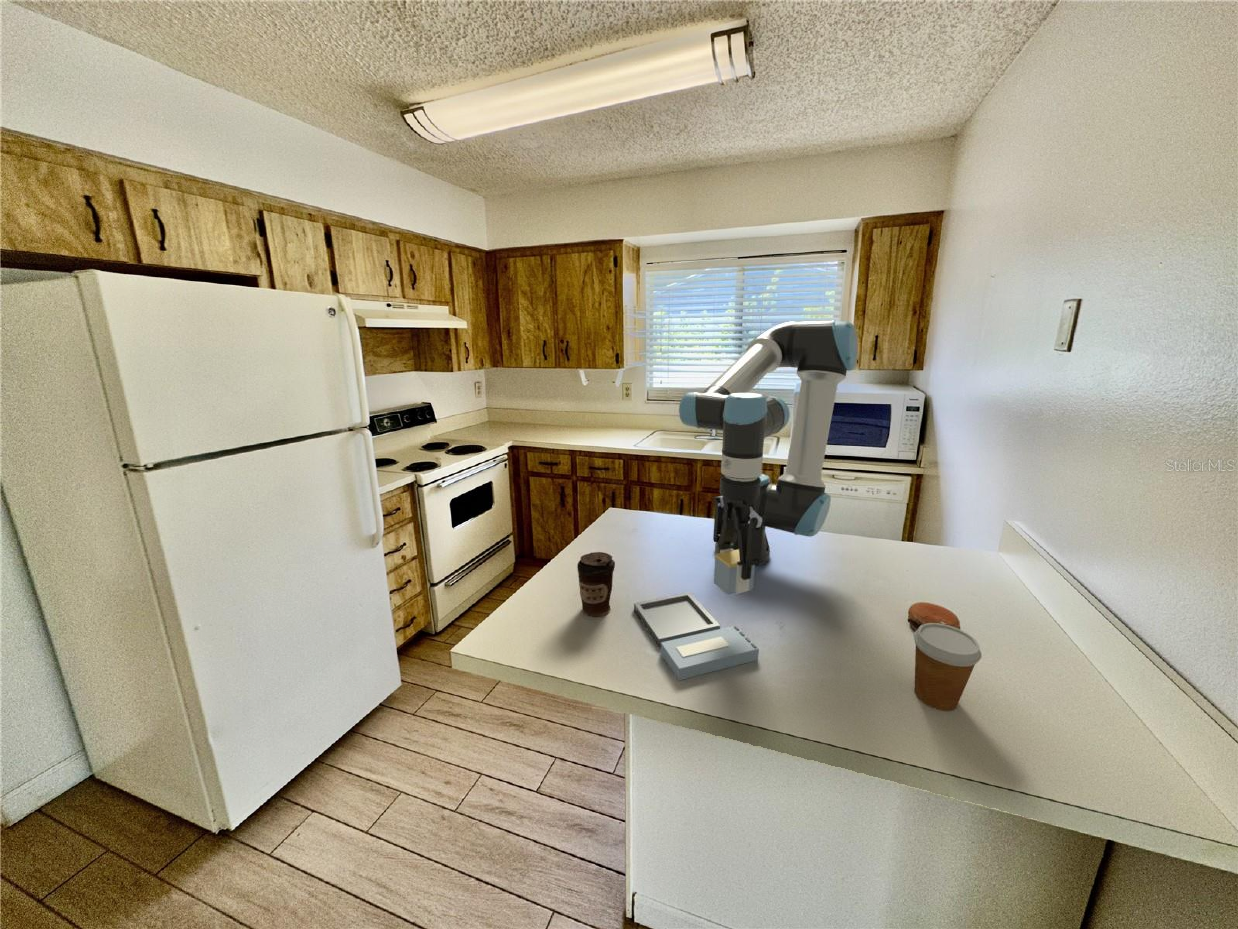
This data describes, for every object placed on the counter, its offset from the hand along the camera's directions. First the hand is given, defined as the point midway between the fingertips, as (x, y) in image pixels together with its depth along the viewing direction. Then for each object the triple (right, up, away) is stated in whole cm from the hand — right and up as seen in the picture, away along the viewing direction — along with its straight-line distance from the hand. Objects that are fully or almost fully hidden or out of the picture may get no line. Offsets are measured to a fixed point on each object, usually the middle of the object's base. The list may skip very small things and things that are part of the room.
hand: (733, 584), depth 98 cm
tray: (-11, -10, +8) cm, 17 cm away
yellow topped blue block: (0, 0, 0) cm, 0 cm away
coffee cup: (-28, -9, +12) cm, 32 cm away
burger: (+44, -11, +5) cm, 45 cm away
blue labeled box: (-6, -13, -4) cm, 15 cm away
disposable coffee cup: (+32, -16, -14) cm, 38 cm away
